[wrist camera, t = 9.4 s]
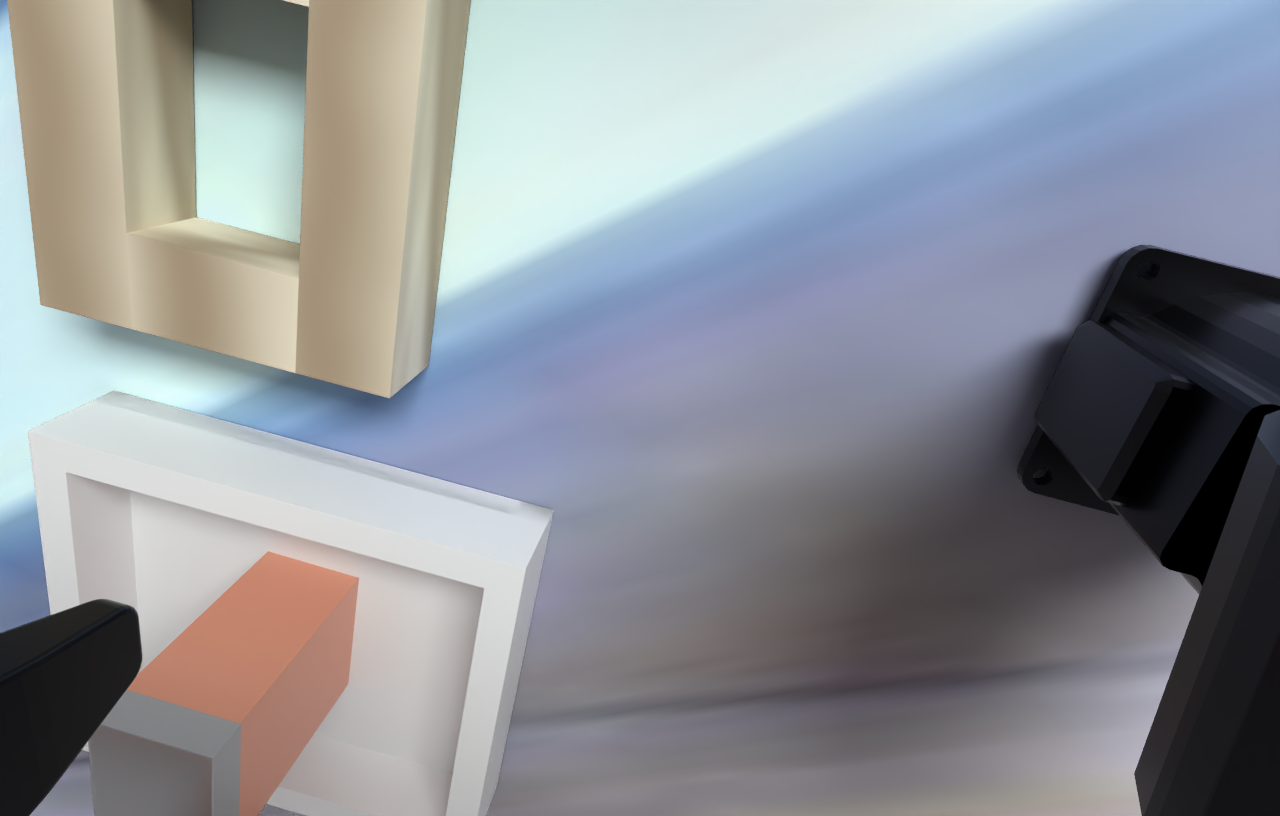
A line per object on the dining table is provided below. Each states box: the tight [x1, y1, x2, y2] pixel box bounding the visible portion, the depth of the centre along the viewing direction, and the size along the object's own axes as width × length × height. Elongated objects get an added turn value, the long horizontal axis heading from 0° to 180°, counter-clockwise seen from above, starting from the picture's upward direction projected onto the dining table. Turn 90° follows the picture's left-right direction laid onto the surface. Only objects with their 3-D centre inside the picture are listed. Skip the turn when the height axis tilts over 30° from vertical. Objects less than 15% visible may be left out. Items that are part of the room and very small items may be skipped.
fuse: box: [88, 551, 359, 816], centre depth 21 cm, size 3×5×7 cm
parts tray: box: [28, 391, 554, 816], centre depth 24 cm, size 14×12×3 cm
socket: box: [7, 0, 471, 398], centre depth 18 cm, size 9×11×2 cm
